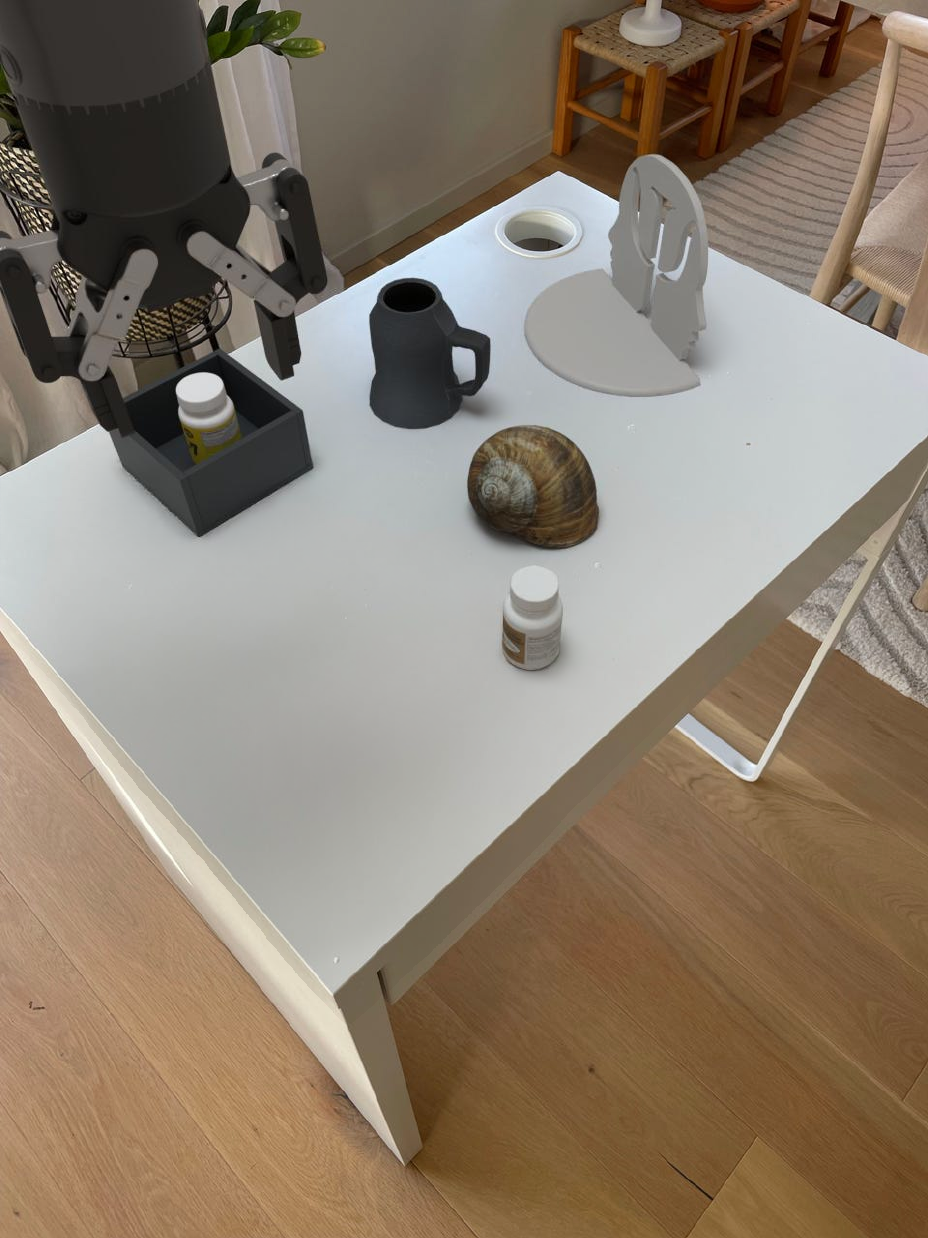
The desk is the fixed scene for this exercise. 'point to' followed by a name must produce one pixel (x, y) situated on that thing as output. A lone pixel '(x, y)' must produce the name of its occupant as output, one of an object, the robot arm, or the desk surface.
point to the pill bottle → (532, 618)
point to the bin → (231, 474)
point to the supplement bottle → (206, 415)
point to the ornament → (631, 296)
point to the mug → (420, 356)
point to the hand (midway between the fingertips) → (203, 398)
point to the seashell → (534, 486)
